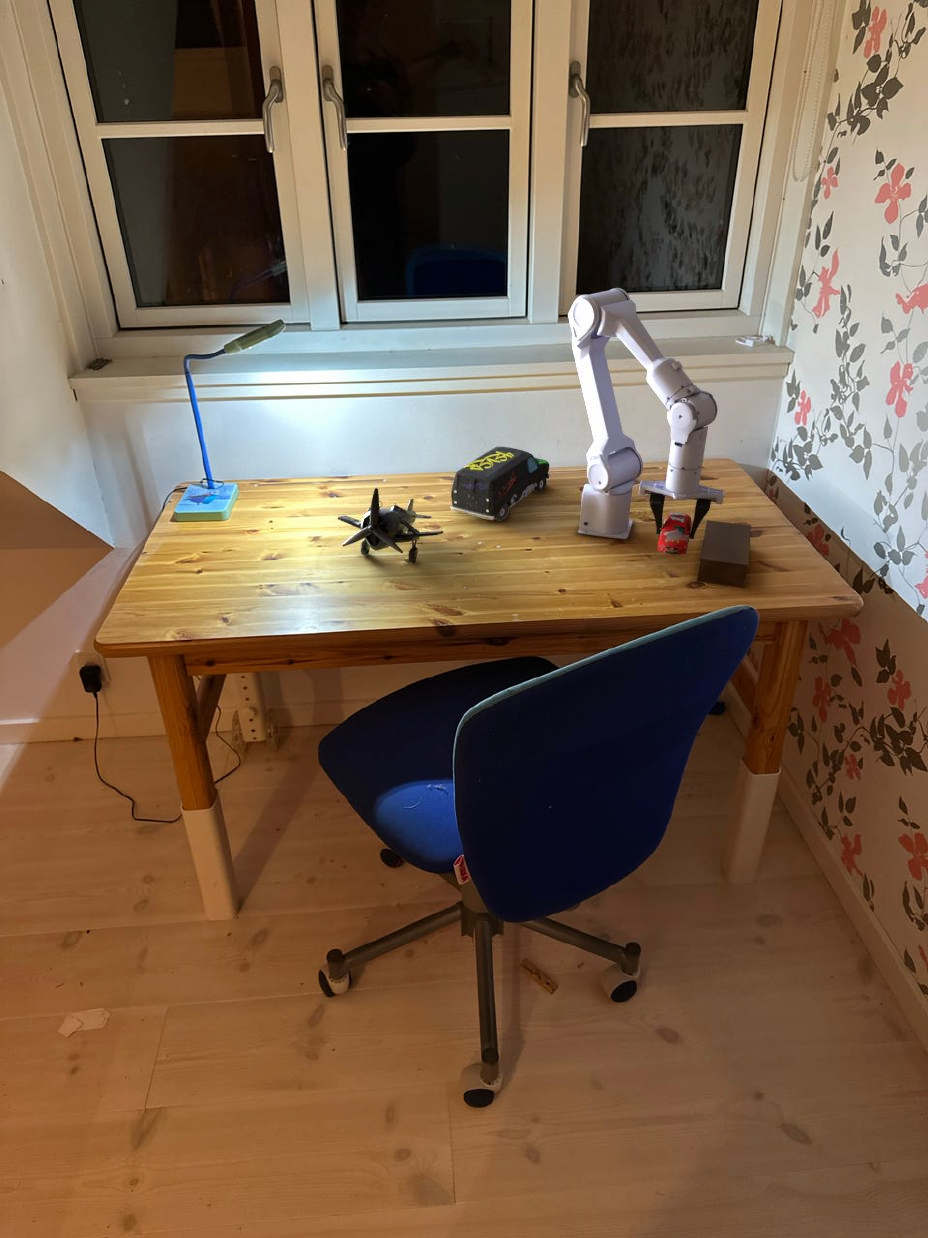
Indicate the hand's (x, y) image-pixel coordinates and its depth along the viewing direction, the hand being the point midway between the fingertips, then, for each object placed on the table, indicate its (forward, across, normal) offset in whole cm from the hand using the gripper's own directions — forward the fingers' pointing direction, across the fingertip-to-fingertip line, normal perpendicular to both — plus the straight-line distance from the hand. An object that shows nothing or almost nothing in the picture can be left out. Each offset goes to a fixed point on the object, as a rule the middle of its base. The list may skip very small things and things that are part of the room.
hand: (675, 534), depth 152 cm
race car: (+2, 0, 0) cm, 2 cm away
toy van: (+5, -37, +15) cm, 40 cm away
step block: (+4, +9, 0) cm, 10 cm away
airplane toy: (+5, -50, -13) cm, 52 cm away
